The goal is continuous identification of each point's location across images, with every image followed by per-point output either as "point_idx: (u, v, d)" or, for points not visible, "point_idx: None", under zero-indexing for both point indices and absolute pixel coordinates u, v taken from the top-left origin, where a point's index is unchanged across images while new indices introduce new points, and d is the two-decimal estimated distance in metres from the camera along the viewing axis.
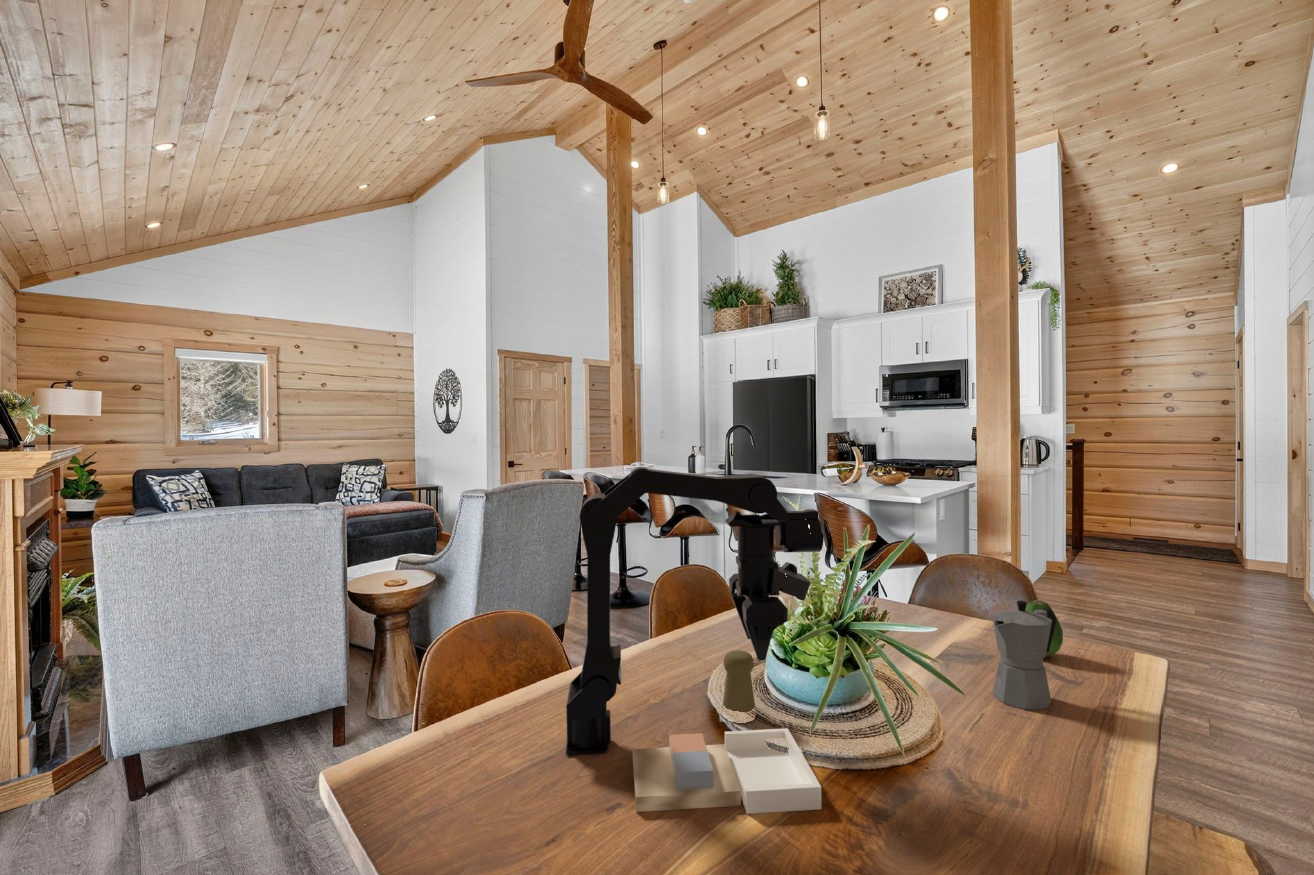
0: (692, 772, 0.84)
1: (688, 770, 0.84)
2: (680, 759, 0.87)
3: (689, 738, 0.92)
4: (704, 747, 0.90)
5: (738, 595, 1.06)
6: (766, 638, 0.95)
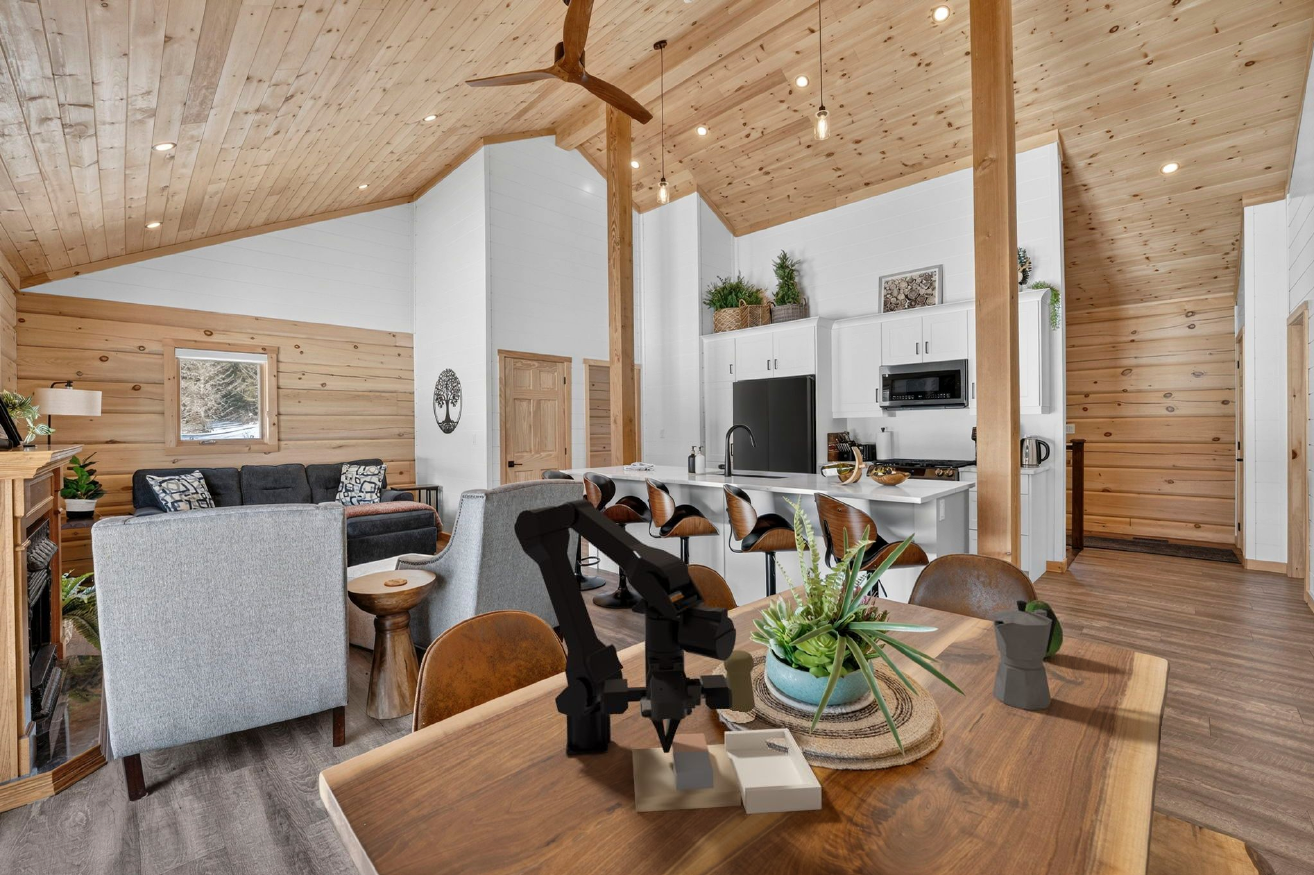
0: (692, 772, 0.84)
1: (688, 770, 0.84)
2: (680, 759, 0.87)
3: (691, 738, 0.92)
4: (705, 747, 0.90)
5: None
6: None
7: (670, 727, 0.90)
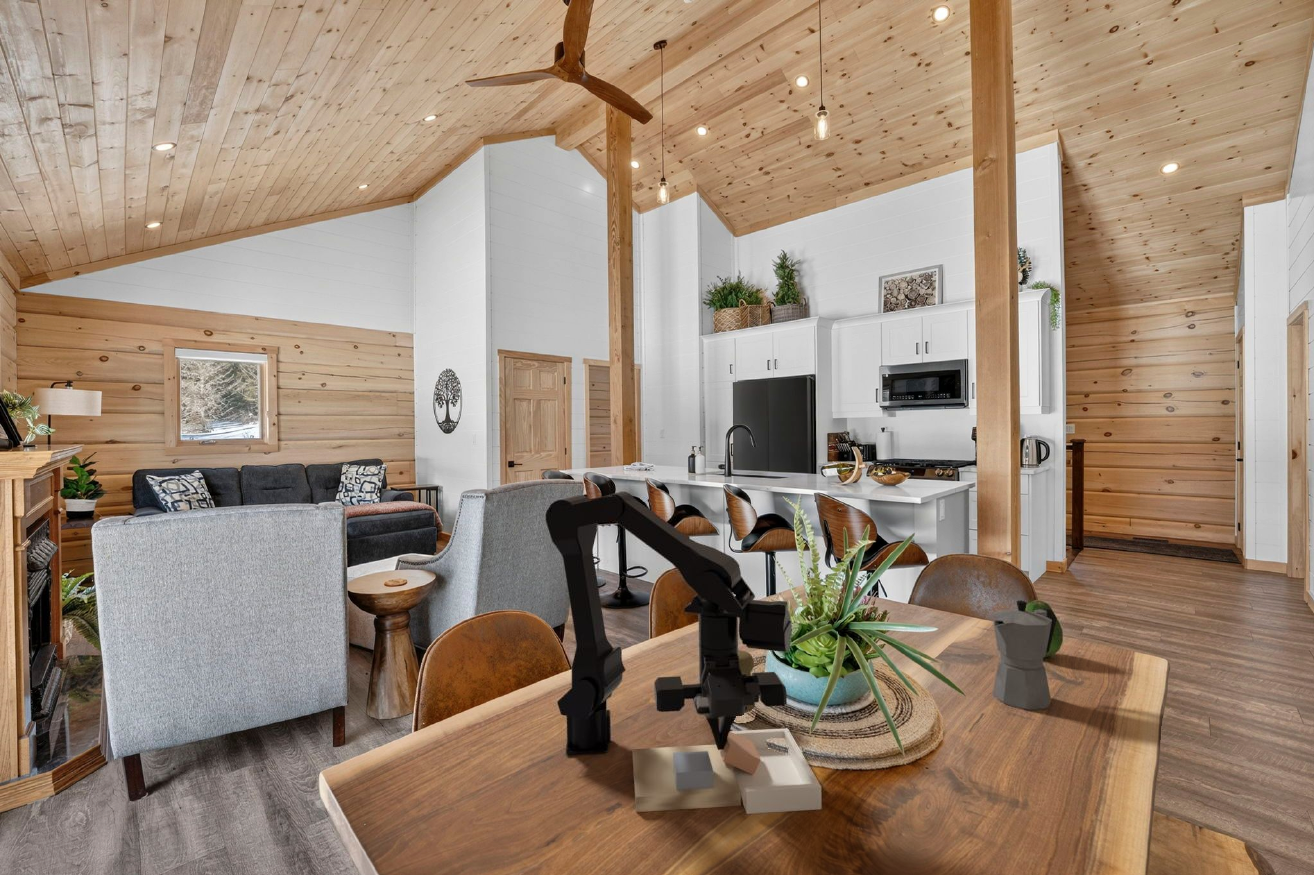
0: (692, 772, 0.84)
1: (688, 770, 0.84)
2: (680, 759, 0.87)
3: (742, 741, 0.93)
4: (757, 755, 0.91)
5: None
6: None
7: (725, 724, 0.90)
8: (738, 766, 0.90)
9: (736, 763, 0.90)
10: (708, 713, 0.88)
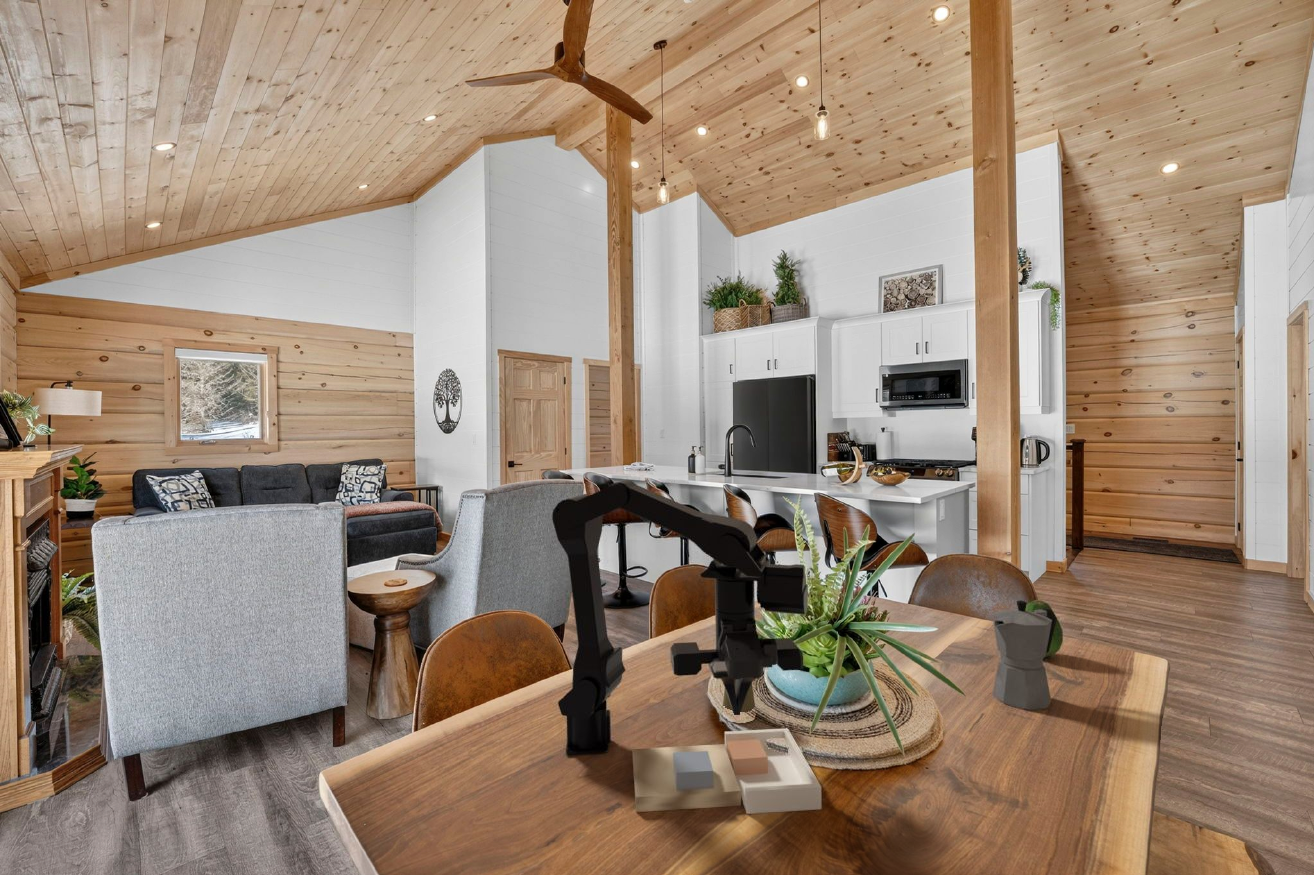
0: (692, 772, 0.84)
1: (688, 770, 0.84)
2: (680, 759, 0.87)
3: (747, 745, 0.93)
4: (764, 753, 0.91)
5: None
6: (727, 690, 0.91)
7: (741, 689, 0.90)
8: (750, 772, 0.90)
9: (747, 771, 0.90)
10: (725, 677, 0.88)
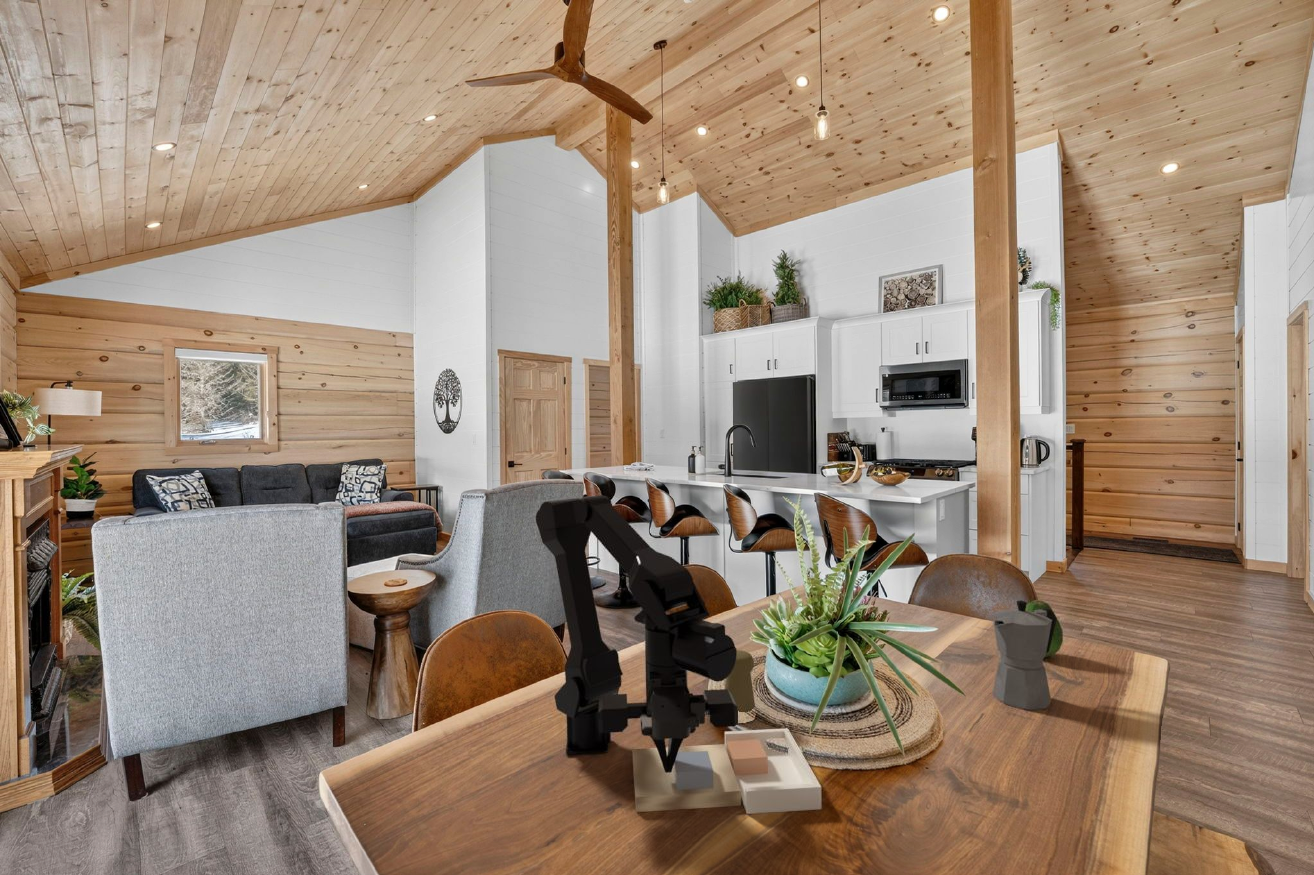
0: (692, 772, 0.84)
1: (688, 770, 0.84)
2: (680, 759, 0.87)
3: (747, 745, 0.93)
4: (764, 753, 0.91)
5: None
6: None
7: (672, 745, 0.85)
8: (750, 772, 0.90)
9: (747, 771, 0.90)
10: None
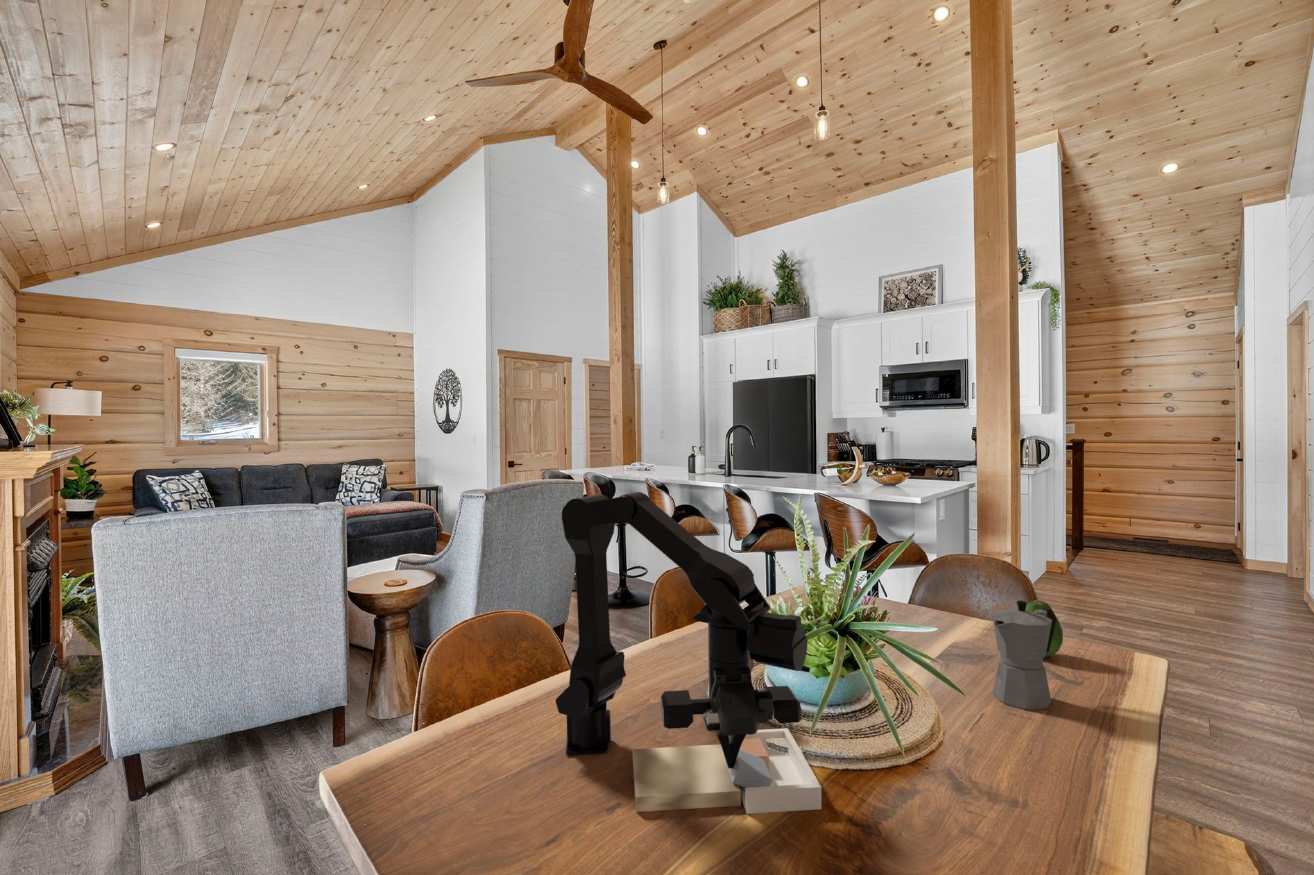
0: (753, 772, 0.85)
1: (750, 769, 0.85)
2: (740, 756, 0.88)
3: (748, 744, 0.94)
4: (765, 752, 0.91)
5: None
6: None
7: (735, 741, 0.85)
8: None
9: None
10: (719, 730, 0.84)
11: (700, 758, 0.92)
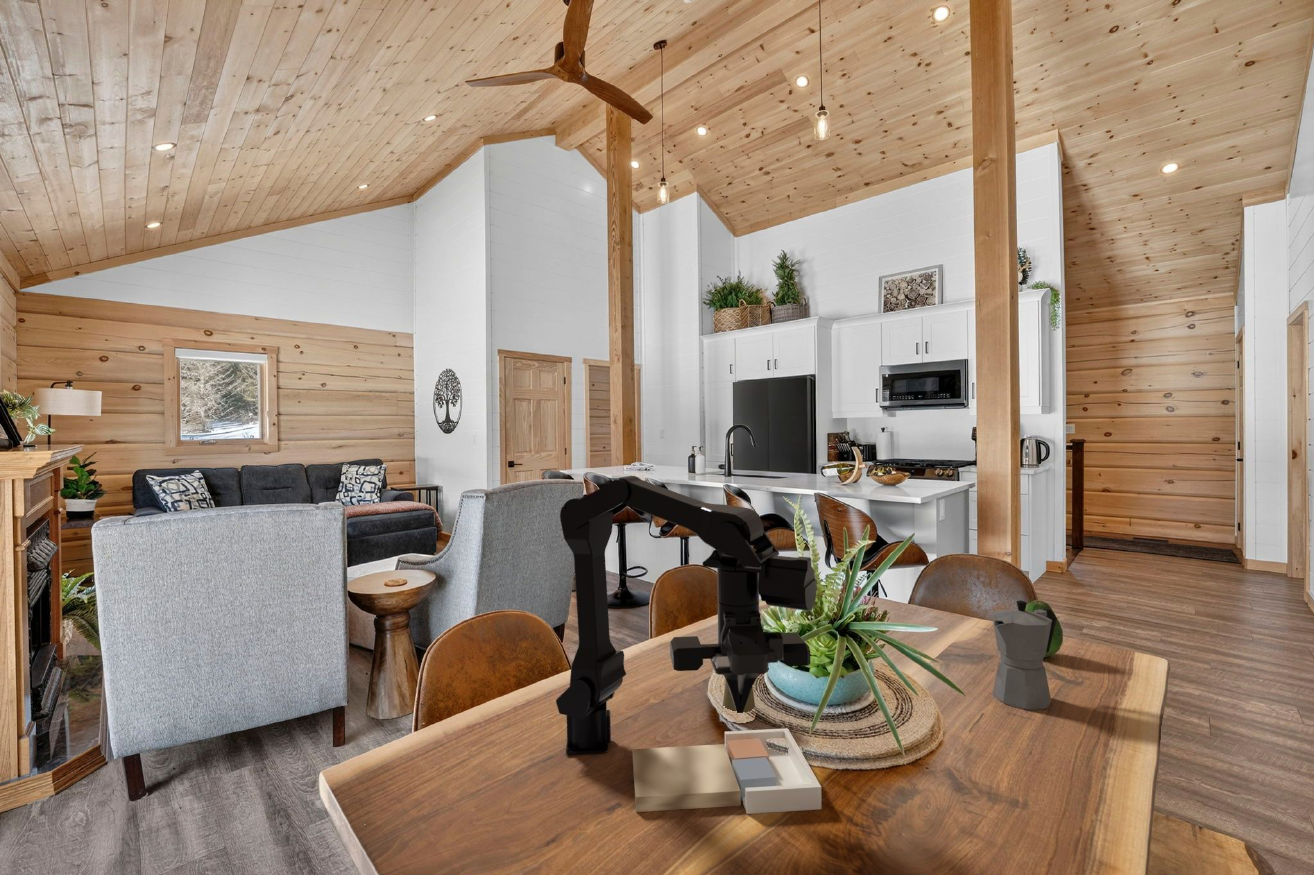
0: (756, 779, 0.85)
1: (752, 777, 0.85)
2: (741, 766, 0.88)
3: (748, 744, 0.94)
4: (765, 752, 0.91)
5: None
6: None
7: (745, 685, 0.86)
8: None
9: None
10: (728, 673, 0.84)
11: (700, 758, 0.92)
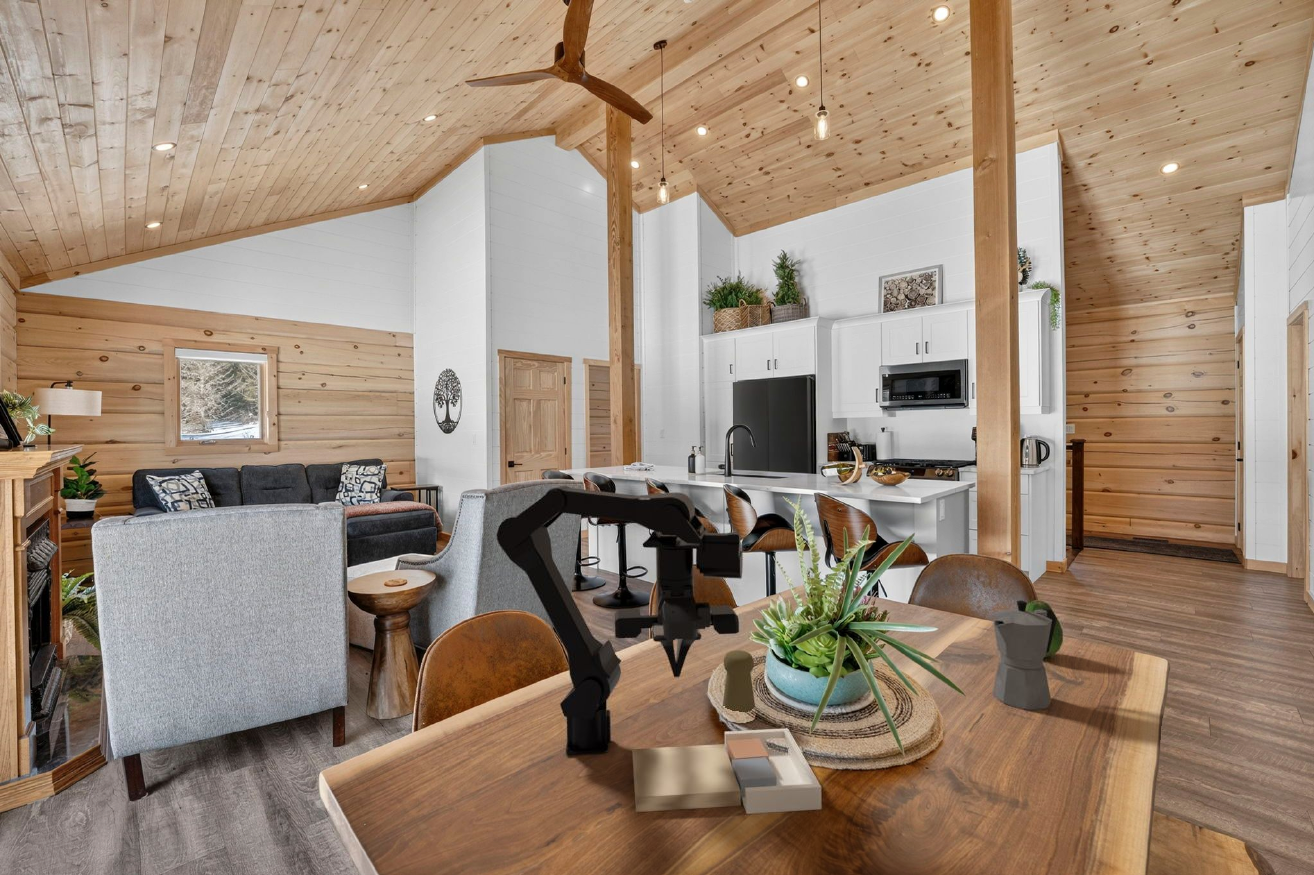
0: (756, 779, 0.85)
1: (752, 777, 0.85)
2: (741, 766, 0.88)
3: (748, 744, 0.94)
4: (765, 752, 0.91)
5: None
6: None
7: (680, 652, 0.95)
8: None
9: None
10: (664, 640, 0.93)
11: (700, 758, 0.92)
